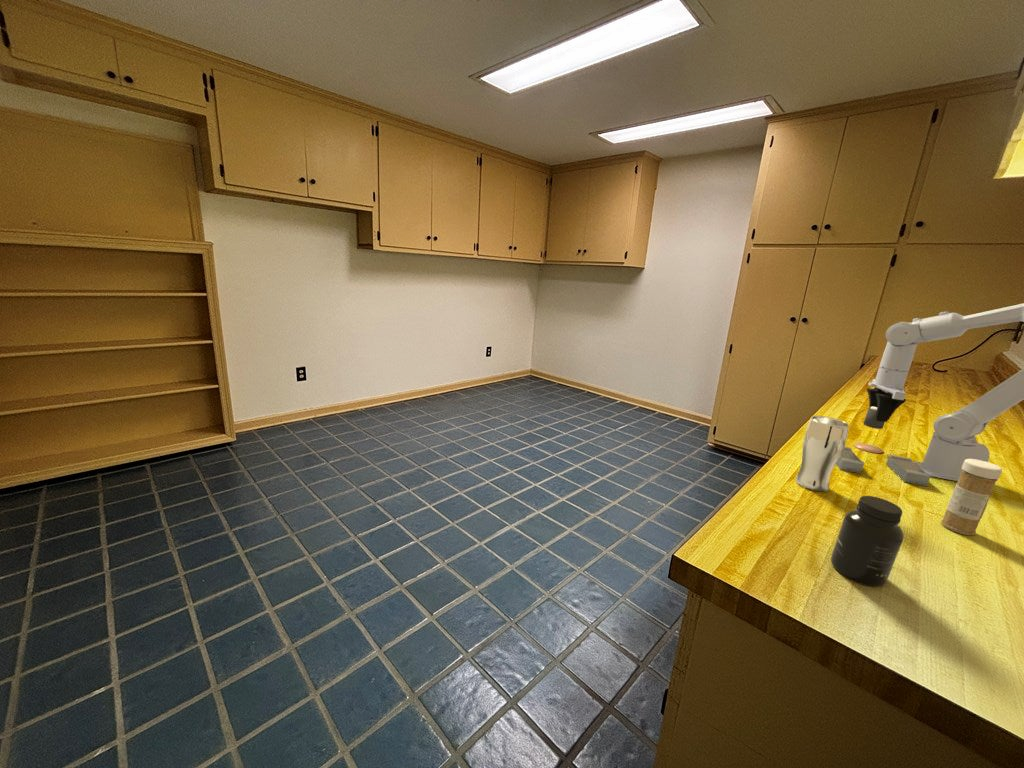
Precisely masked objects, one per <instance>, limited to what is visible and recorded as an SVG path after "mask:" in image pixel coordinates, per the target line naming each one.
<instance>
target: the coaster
mask: <svg viewBox="0 0 1024 768" xmlns="http://www.w3.org/2000/svg"><path fill="white" fill-rule="evenodd" d="M853 446H854V447H855V448H856V449H858V450H861V451H864V452H867V453H871V454H882V453H883V449H882V448H880V447H879V446H876V445H872V444H870V443H865V442H854V444H853Z"/></svg>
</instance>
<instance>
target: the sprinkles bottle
mask: <svg viewBox="0 0 1024 768" xmlns="http://www.w3.org/2000/svg"><path fill="white" fill-rule="evenodd" d="M1002 473H1003V468H1001V467H1000V466H999V465H997V464H994V463H991V462H989V461H988V462H985V461H981V460H976V459H966V460H965V461H964V463H963V465H962V472H961V474H960V477H959V480H958V481H956V482H957V483H955V486H954V489H953V492H952V494H951V496H950V499H949V501H948V504H947V507H946V510H945V513H944V516H943V517H942V520H941V521H940V523H941V525H942V526H943V527H944V528H946V529H947V530H950V531H952V532H955V533H957V534H960V535H964V536H974V535H976V534H977V528H978V526H979V523H980V521H981V519H982V517H983V516H984V513H985V511H986V509H987V506H988V502H989V500H990V498H991V495H992V492H993V489H994V487H995V486H996V483H997V481H998V480H999V479H1000V477H1001V476H1002V475H1001V474H1002Z"/></svg>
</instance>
